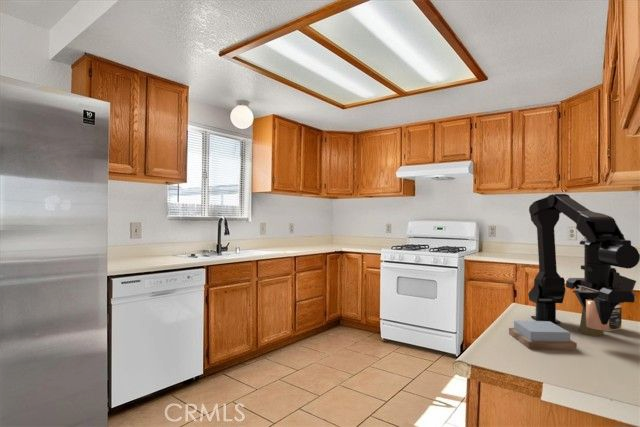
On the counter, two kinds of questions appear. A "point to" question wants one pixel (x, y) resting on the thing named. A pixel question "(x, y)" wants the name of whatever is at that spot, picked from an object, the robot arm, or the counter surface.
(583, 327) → the olive green tapered piece
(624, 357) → the counter surface
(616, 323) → the medicine bottle
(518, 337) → the walnut slab
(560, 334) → the slate slab
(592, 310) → the terracotta cylinder
